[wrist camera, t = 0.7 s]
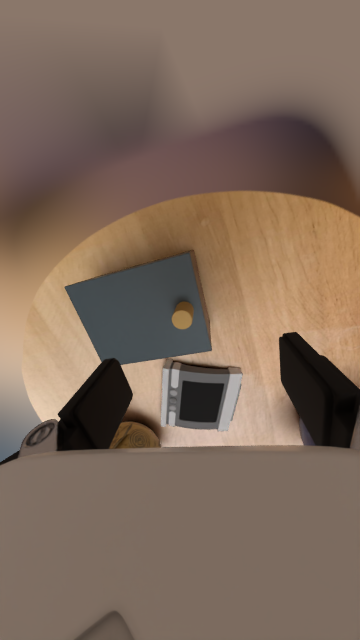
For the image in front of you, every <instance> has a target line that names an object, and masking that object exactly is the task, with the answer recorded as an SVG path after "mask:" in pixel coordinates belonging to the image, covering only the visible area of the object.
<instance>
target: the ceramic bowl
mask: <svg viewBox="0 0 360 640" xmlns="http://www.w3.org/2000/svg"><path fill="white" fill-rule="evenodd" d="M126 448H161V444H160V442H159V439H158V438H157V436H156V435H155V434H154V432H153V431H152V430H151V429H150V428H148V427H147V426H145V425H143V424H140V423H137V422H122V423H120V426H119V428H118V430H117V432H116V434H115V436H114V438H113V441H112V443H111V445H110V447H109V449H126Z"/></svg>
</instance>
